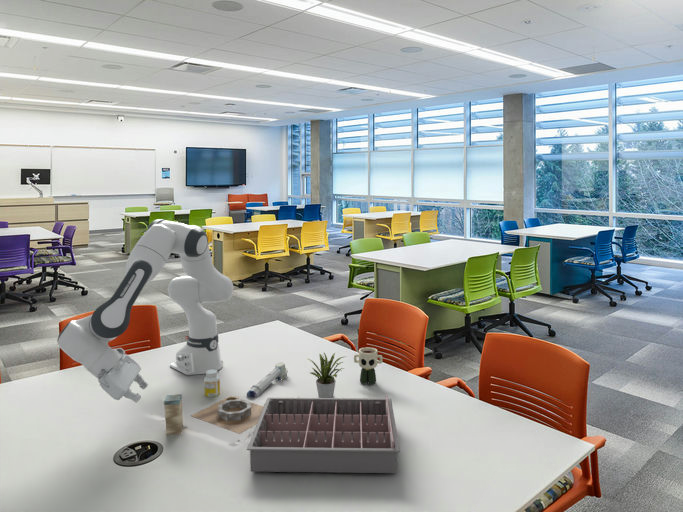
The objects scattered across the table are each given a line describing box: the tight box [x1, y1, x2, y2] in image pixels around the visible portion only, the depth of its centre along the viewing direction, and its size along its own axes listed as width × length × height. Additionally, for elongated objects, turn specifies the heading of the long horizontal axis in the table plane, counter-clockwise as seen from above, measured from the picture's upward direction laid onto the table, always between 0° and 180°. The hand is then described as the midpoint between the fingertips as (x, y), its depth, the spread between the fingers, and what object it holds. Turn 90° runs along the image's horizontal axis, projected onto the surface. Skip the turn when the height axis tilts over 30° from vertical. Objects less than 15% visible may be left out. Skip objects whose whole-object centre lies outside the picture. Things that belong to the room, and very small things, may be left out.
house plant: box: [308, 352, 348, 398], centre depth 180 cm, size 14×14×16 cm
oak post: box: [163, 393, 184, 436], centre depth 156 cm, size 4×4×11 cm
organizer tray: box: [246, 393, 401, 474], centre depth 147 cm, size 32×40×10 cm
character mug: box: [353, 346, 383, 386], centre depth 193 cm, size 11×7×13 cm, turn 84°
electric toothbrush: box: [246, 361, 288, 398], centre depth 190 cm, size 5×7×25 cm
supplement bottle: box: [203, 369, 221, 398], centre depth 181 cm, size 5×5×10 cm
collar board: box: [190, 398, 264, 435], centre depth 166 cm, size 22×18×4 cm
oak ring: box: [223, 395, 240, 402], centre depth 175 cm, size 5×5×1 cm
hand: (142, 393), depth 154 cm, fingers open, 8 cm apart
